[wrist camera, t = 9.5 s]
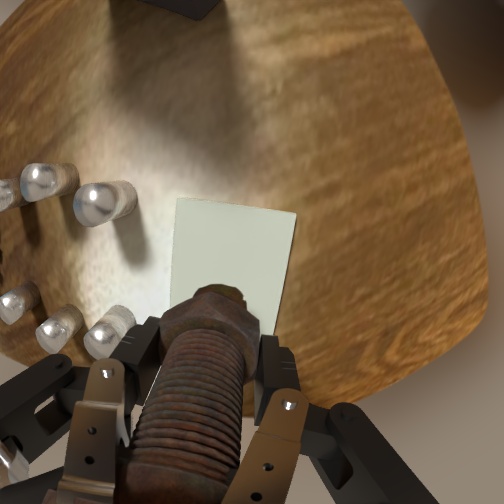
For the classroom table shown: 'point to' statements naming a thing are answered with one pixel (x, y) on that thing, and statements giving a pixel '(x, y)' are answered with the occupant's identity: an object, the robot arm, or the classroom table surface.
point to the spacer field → (88, 214)
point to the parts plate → (232, 253)
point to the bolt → (192, 403)
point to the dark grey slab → (186, 6)
